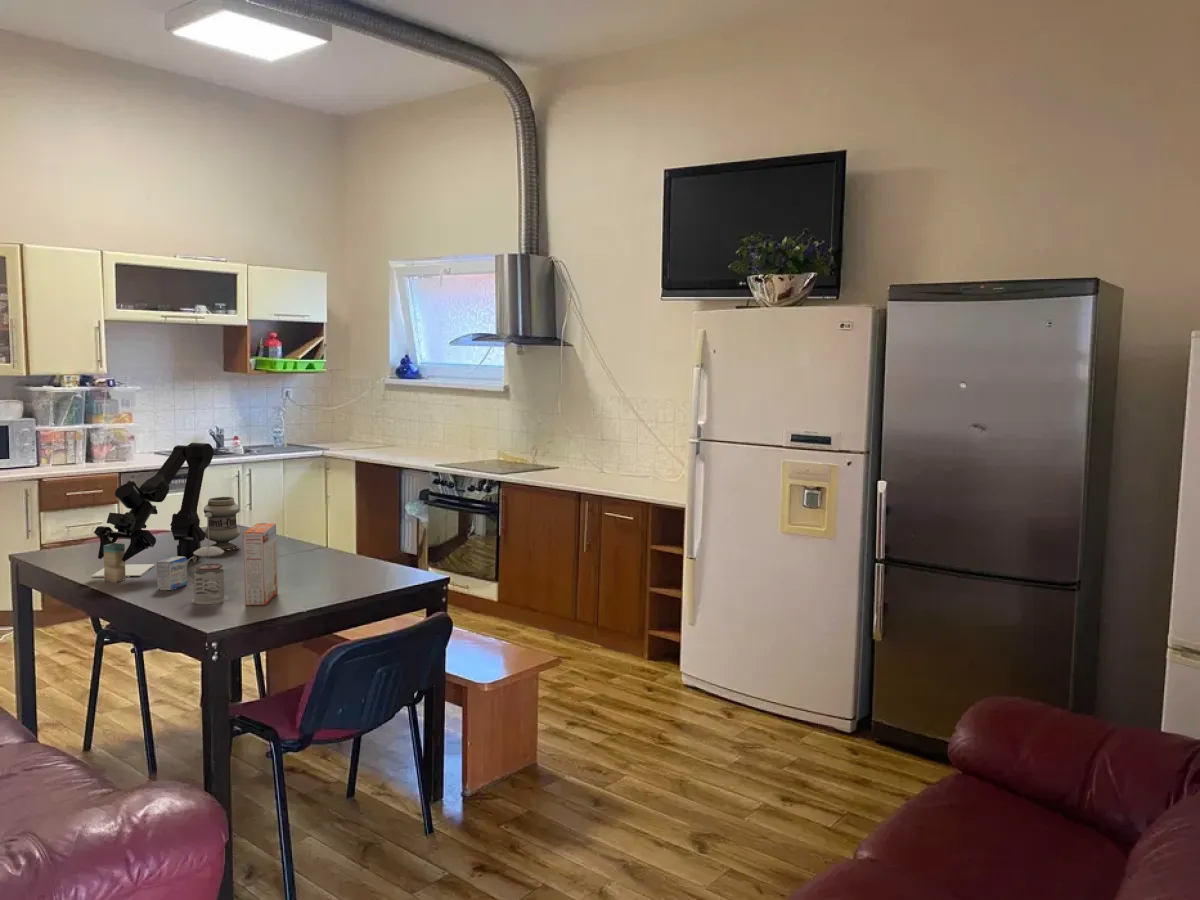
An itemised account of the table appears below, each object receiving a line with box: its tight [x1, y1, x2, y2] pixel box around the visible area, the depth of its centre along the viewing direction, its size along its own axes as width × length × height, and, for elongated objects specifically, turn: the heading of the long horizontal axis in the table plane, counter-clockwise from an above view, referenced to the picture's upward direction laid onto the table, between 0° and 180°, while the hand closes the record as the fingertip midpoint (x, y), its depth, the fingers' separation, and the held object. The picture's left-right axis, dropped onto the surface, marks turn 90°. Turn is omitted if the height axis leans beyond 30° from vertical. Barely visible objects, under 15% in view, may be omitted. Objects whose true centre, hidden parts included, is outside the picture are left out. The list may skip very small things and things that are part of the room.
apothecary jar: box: [203, 496, 242, 550], centre depth 333 cm, size 12×12×18 cm
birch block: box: [103, 542, 127, 583], centre depth 284 cm, size 4×4×11 cm
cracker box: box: [242, 522, 279, 607], centre depth 266 cm, size 14×6×21 cm, turn 5°
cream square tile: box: [91, 563, 156, 579], centre depth 296 cm, size 14×15×1 cm
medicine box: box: [156, 555, 188, 591], centre depth 278 cm, size 8×4×9 cm, turn 168°
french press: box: [184, 512, 229, 605], centre depth 264 cm, size 10×12×25 cm
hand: (111, 559), depth 283 cm, fingers open, 8 cm apart
